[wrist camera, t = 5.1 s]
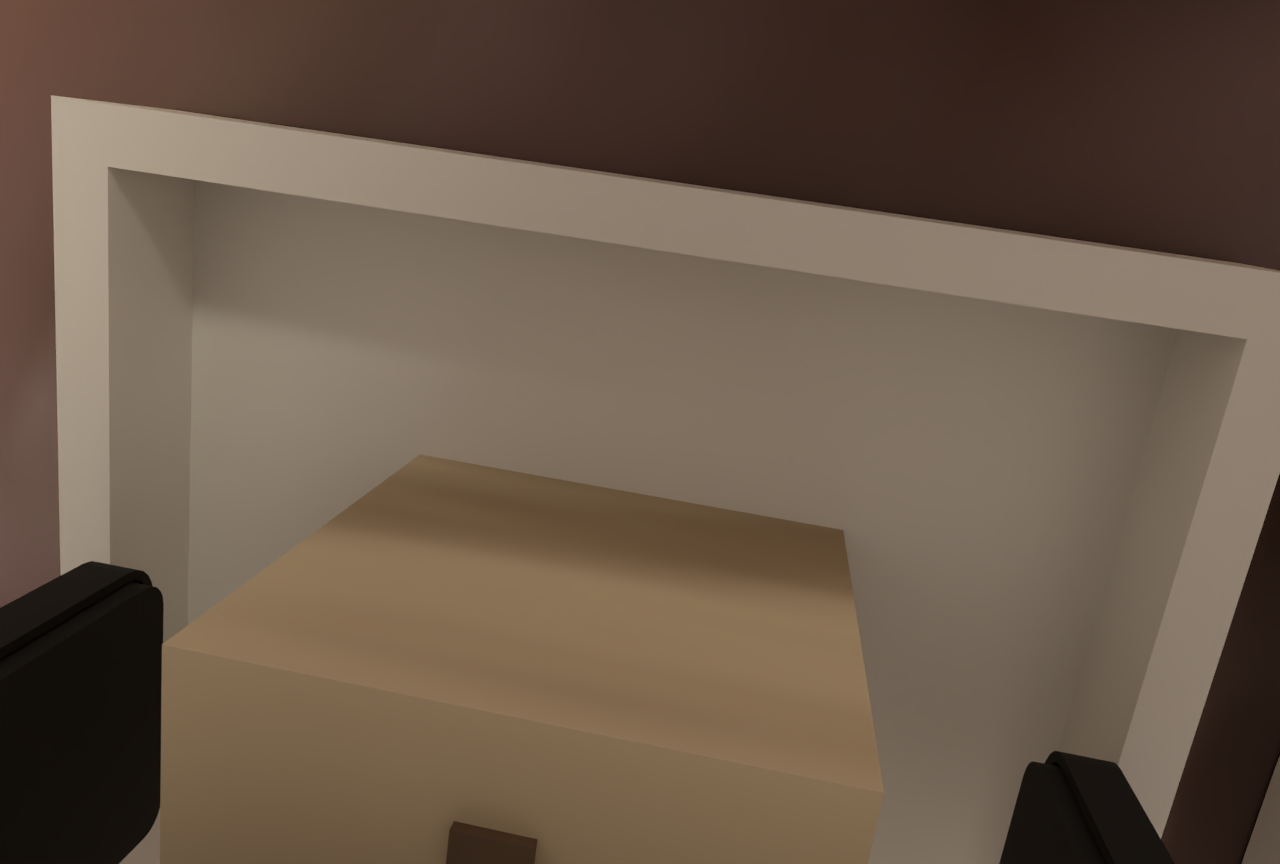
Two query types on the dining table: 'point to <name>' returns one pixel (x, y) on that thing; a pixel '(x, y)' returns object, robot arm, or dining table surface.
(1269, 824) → the tray
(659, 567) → the letter cube
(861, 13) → the dining table surface
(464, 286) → the tray
